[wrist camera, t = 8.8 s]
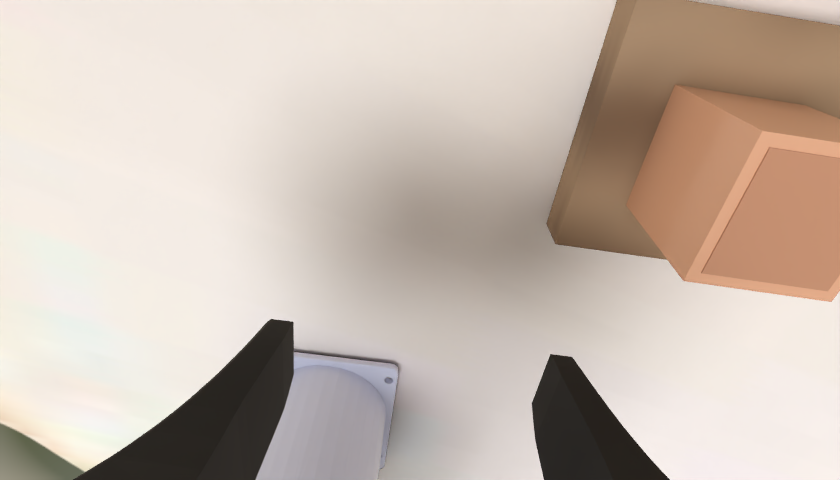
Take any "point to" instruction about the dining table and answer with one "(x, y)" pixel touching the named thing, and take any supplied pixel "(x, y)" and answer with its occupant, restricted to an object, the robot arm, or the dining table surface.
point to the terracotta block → (744, 193)
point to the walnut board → (651, 89)
